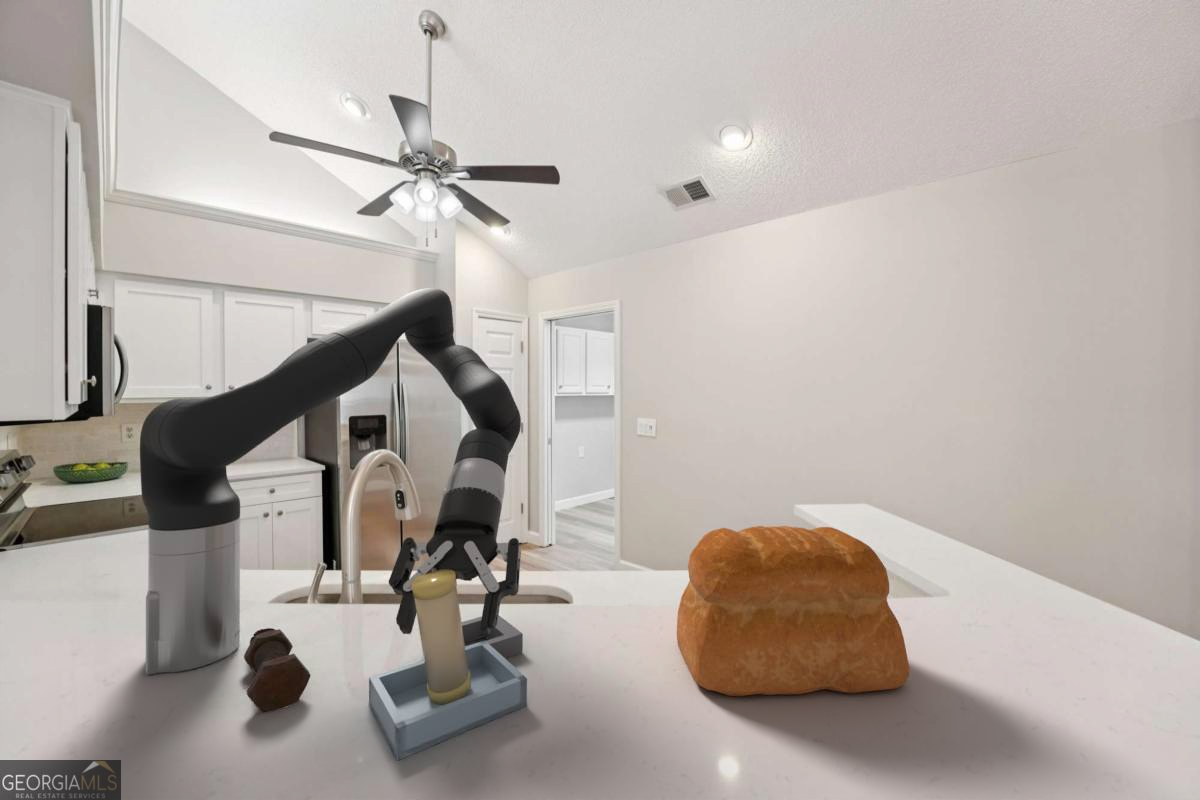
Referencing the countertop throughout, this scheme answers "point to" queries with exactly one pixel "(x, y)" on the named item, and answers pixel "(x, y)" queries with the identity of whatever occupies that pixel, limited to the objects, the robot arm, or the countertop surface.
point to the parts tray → (425, 723)
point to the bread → (789, 614)
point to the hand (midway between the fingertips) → (444, 631)
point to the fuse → (441, 636)
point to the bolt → (274, 671)
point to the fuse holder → (495, 636)
